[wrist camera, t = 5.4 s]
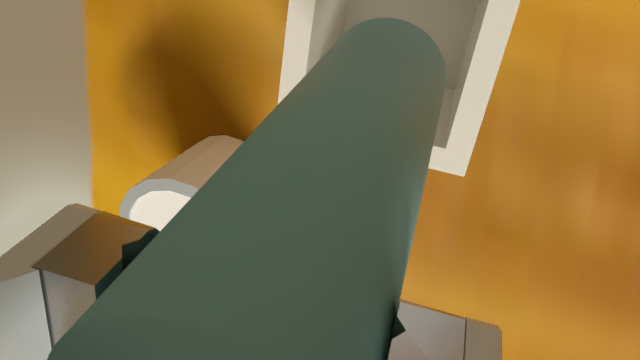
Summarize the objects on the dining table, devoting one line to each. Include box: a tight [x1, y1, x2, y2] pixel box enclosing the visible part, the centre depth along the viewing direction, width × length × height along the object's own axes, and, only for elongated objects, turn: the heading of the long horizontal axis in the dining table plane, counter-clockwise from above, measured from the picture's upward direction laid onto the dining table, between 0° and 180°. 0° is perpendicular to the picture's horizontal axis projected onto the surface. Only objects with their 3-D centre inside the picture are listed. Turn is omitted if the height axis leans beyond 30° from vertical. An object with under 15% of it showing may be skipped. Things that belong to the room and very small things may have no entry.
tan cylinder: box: [119, 135, 244, 231], centre depth 32 cm, size 7×7×7 cm
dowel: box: [47, 18, 447, 360], centre depth 12 cm, size 4×4×14 cm
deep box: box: [278, 0, 521, 177], centre depth 24 cm, size 8×8×8 cm
